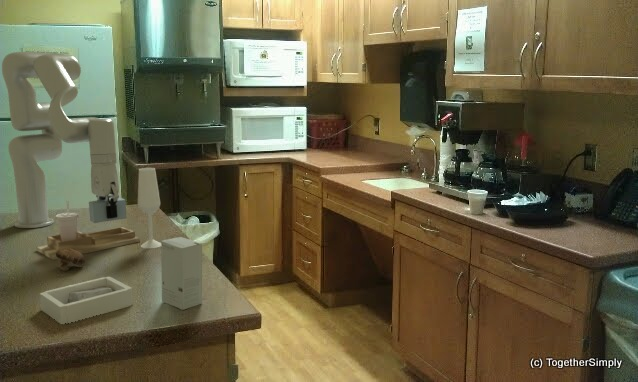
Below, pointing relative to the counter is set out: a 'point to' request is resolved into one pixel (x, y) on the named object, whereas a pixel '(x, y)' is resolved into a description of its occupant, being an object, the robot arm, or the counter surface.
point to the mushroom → (70, 258)
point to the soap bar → (88, 293)
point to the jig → (89, 241)
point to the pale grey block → (99, 210)
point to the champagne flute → (148, 200)
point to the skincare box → (181, 272)
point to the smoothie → (67, 224)
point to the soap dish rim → (85, 300)
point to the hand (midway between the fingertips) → (108, 216)
